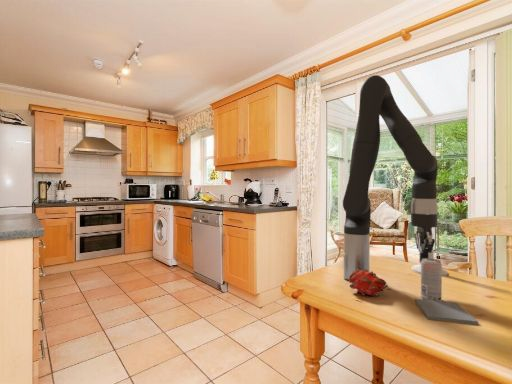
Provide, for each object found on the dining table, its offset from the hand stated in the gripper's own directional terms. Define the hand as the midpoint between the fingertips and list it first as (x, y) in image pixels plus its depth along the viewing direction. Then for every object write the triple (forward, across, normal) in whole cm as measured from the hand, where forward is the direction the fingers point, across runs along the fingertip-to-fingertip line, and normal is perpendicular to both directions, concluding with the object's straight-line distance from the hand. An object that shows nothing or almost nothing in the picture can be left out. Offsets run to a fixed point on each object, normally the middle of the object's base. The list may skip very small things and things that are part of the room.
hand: (423, 263), depth 91 cm
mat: (+9, +17, 0) cm, 19 cm away
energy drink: (+9, +7, 0) cm, 12 cm away
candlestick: (+9, -26, +10) cm, 29 cm away
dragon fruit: (+9, +8, -19) cm, 22 cm away
